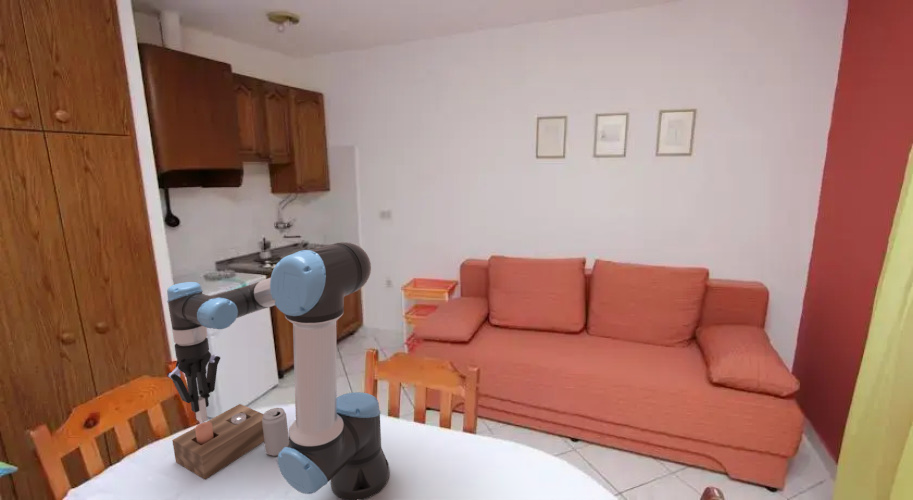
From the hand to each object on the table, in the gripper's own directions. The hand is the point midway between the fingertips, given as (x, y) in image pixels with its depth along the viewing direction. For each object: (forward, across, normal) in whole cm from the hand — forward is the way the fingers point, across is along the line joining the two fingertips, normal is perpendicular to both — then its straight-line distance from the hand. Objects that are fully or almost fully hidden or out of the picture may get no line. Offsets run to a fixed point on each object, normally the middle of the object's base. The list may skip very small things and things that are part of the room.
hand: (202, 419), depth 113 cm
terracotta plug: (+8, 0, 0) cm, 8 cm away
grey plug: (+11, -10, 0) cm, 15 cm away
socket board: (+13, -5, 0) cm, 13 cm away
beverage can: (+13, -12, +14) cm, 23 cm away
